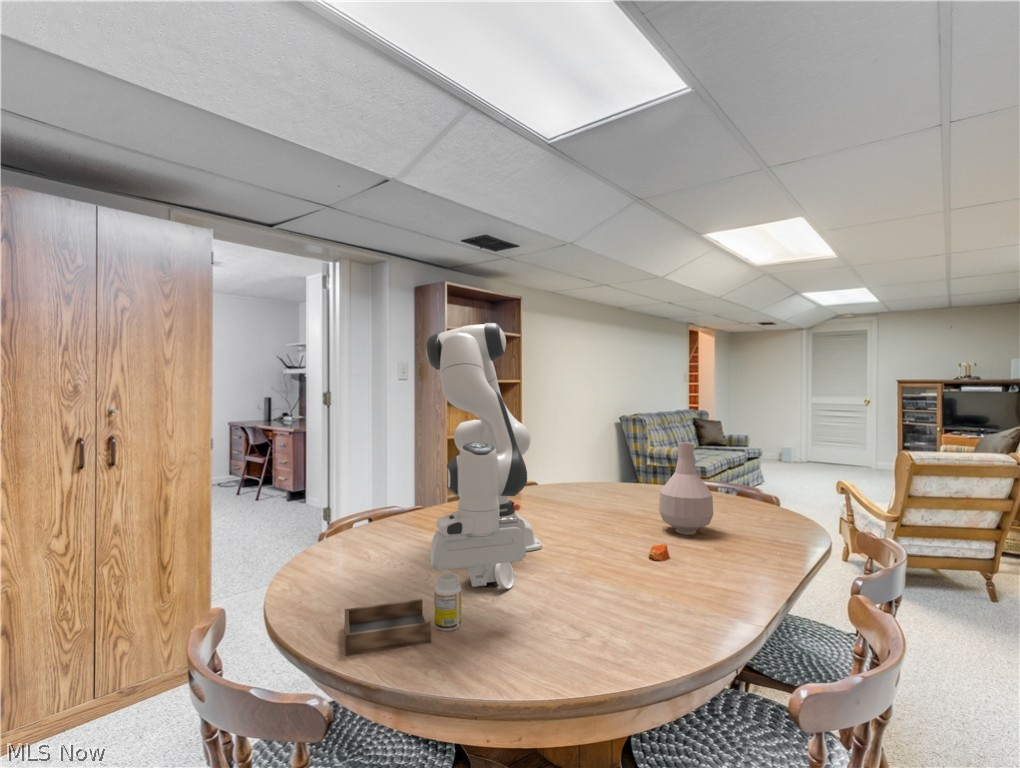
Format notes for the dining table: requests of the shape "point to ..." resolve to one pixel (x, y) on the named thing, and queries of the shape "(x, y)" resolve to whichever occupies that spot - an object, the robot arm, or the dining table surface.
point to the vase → (686, 495)
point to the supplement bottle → (447, 603)
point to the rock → (659, 552)
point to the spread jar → (497, 575)
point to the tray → (385, 627)
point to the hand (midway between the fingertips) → (478, 585)
